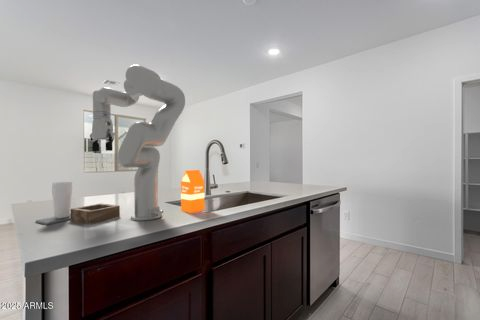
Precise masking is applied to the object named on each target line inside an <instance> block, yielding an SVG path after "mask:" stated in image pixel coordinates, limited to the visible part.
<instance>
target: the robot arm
mask: <svg viewBox="0 0 480 320" xmlns="http://www.w3.org/2000/svg"><path fill="white" fill-rule="evenodd" d="M123 89H124V91H122V90H118V89H115V88H111V87H108V86H107V87H106V86H105V87H101V88H100V89H96V90H94V91H93V92H92V119H93V120H92V125H91V126H92V128H91V133H90V134H89V138H90V141H91V145H92V152H100V143H99V142H100V140H102V141H103V140H105V141H106V142H105V151H106V152H107V151H109V152H111V151H113V143H114V140H115V136H116V133H115V132H114V125H113V120H112V118H111V112H112V111H111V105H112V106H116V107H120V108H128V107H130V106H133V105H135V104H137V102H138V101H139V99H140V97H141V96H144V97H146V98H148V99H150V100H153V101H157V102H160V103H164V105H162V107H160V108H159V109H158V110H156V112H155V114H154V116H153V118H152V120H151V121H150V122H148V121H136V122H133V124H131V125H130V127H128V130H127V132H126V134H125V136H124V138H123V140H122V142H121V144H120V146H119V149H118V152H117V161H118V164H119V165H120V166H122V167H124V168H131V169H132V168H137V169H136V172H135V174H134V178H133V179H134V181H133V182H134V184H133V185H134V186H133V187H134V191H133V192H134V196H133V197H134V213H133V214H131V215H130V219H131V220H133V221H138V222H139V221H149V220H151V221H152V220H155V219H159V218H160V217H162V214H163V213H164V210H162V209H160V206H159V205H158V204H159V199H158V197H159V196H158V195H159V193H158V192H159V191H158V188H159V186H158V184H159V183H158V181H159V180H158V179H159V178H158V177H159V175H158V173H159V166H160V165H159V164H160V160H161V155H160V154H161V153H160V150H159V149H158V148H156V147H161V146H163V145H164V144H165V143H166V141H167V140H168V137H169V136H170V134H171V132H172V129H173V128H174V126H175V124H176V122H177V121H178V119H179V118H180V115H181V114H182V113H183V111H184V109H185V105H186V97H185V93H184V92H183V90H182V89H181V88H180V87H178V85H176V84H173V83H171V82H168V81H166V80H163V79H161V76H160V75H159V74H158V73H157V72H155V71H154V70H151V69H149V68H147V67H144V66H142V65H140V64H133V65H130V66H129V67H128V68H127V69H126V71H125V80H124V82H123Z"/></svg>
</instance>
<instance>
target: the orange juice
mask: <svg viewBox="0 0 480 320" xmlns="http://www.w3.org/2000/svg"><path fill="white" fill-rule="evenodd" d="M204 210H205V179H204V178H203V175H202V173H201V170H200V169H193V170H192V169H191V170H189V169H188V170H185V171H184V174H183V176H182V179H181V181H180V211H181V212H186V213H190V214H192V213H196V212H201V211H204Z"/></svg>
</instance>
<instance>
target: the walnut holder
mask: <svg viewBox="0 0 480 320" xmlns="http://www.w3.org/2000/svg"><path fill="white" fill-rule="evenodd" d="M120 210H121V209H120V205H117V204H109V203H96V204H91V205H90V204H89V205H85V206H80V207H74V208H70V214H71V220H70V222H75V223H79V224H85V225H93V224H97V223H100V222H104V221H108V220H113V219H117V218H120V216H121V215H120V214H121V213H120Z"/></svg>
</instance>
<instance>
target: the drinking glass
mask: <svg viewBox="0 0 480 320" xmlns="http://www.w3.org/2000/svg"><path fill="white" fill-rule="evenodd" d="M51 192H52V194H51V195H52V203H53V212H54V214H53V215H54V216H53V217H55V218H57V219H60V218H67V217H69V216H70V214H71V205H72V198H73V197H72V196H73V182H71V181H57V182H52V188H51Z"/></svg>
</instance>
